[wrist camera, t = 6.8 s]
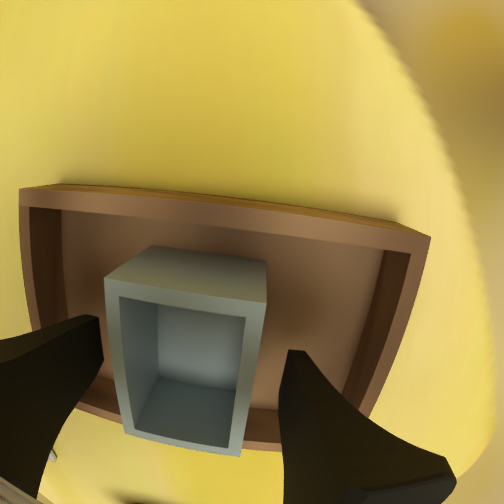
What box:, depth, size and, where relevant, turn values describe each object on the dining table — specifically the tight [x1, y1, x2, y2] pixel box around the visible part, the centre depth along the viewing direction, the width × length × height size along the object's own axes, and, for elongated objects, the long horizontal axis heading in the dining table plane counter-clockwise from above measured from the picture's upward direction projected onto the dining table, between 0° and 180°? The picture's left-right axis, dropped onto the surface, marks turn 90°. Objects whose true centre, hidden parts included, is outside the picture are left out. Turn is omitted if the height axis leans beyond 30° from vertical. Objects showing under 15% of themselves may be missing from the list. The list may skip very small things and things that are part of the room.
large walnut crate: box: [19, 184, 431, 452], centre depth 12 cm, size 16×11×3 cm
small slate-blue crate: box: [104, 245, 267, 457], centre depth 11 cm, size 7×5×4 cm
